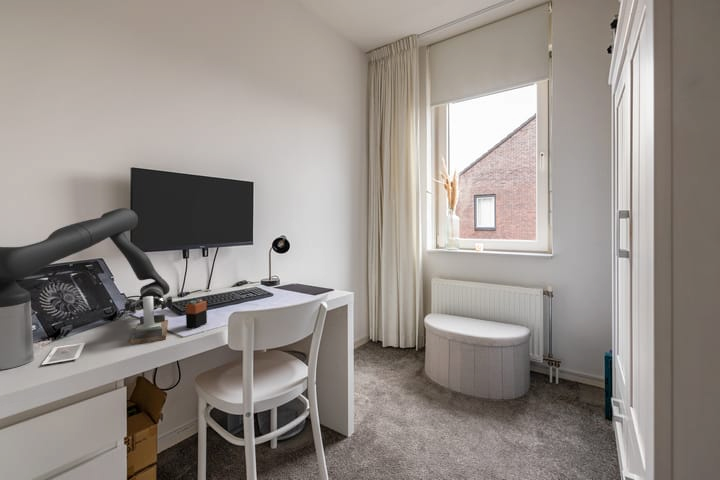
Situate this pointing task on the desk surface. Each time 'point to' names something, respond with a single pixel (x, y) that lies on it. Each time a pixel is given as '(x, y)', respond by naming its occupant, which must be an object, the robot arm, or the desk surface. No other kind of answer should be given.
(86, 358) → the desk surface
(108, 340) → the desk surface
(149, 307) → the keeper
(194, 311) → the battery
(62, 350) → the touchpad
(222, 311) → the desk surface
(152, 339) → the rail base
